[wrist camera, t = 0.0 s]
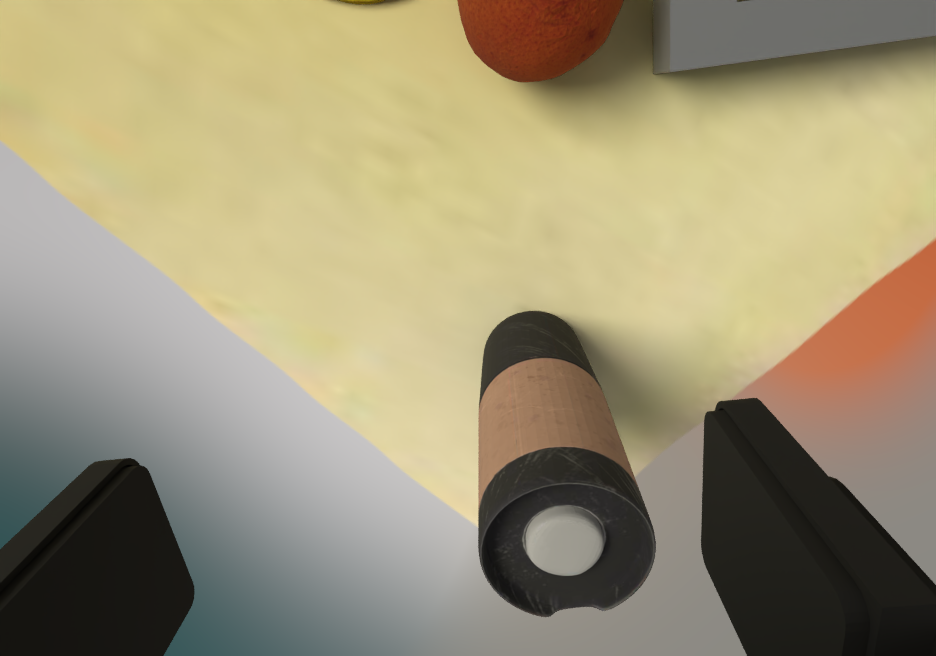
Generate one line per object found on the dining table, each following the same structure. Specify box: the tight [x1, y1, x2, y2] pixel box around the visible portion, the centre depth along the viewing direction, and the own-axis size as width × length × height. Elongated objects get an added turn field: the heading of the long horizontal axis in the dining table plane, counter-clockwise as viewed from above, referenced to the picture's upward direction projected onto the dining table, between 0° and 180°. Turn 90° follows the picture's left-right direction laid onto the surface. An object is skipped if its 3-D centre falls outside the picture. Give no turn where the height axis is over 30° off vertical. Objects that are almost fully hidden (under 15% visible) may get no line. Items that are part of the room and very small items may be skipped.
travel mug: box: [478, 311, 656, 617], centre depth 34 cm, size 8×8×20 cm
